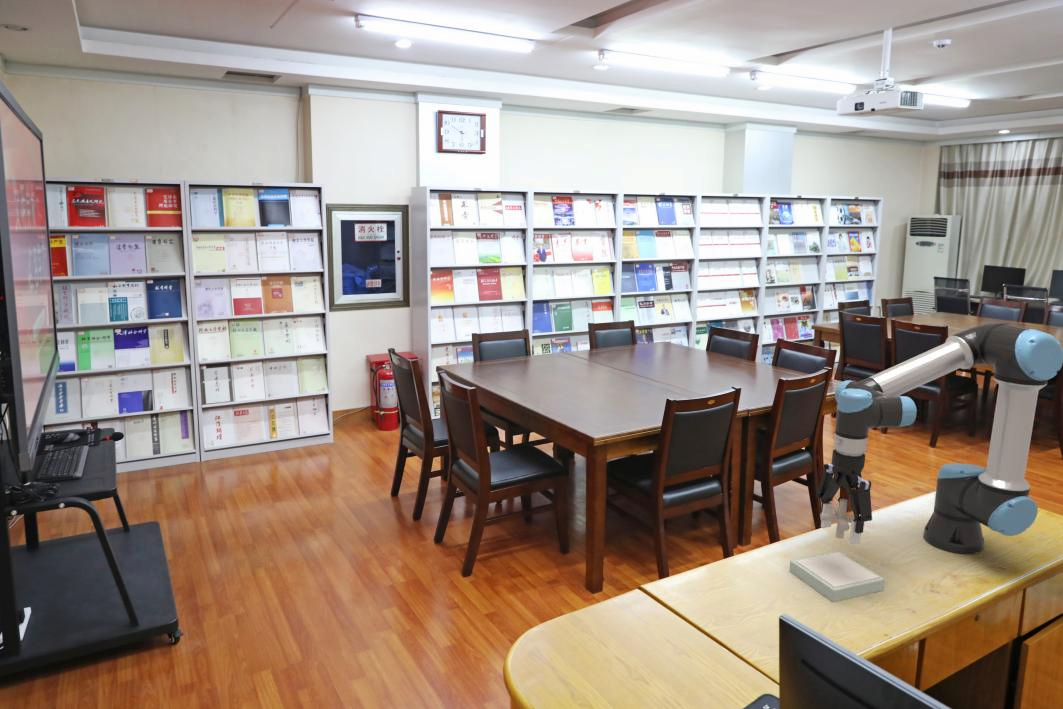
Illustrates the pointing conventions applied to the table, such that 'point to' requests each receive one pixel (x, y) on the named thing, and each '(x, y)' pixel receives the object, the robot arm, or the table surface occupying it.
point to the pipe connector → (839, 518)
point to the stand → (836, 576)
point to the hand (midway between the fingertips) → (839, 535)
